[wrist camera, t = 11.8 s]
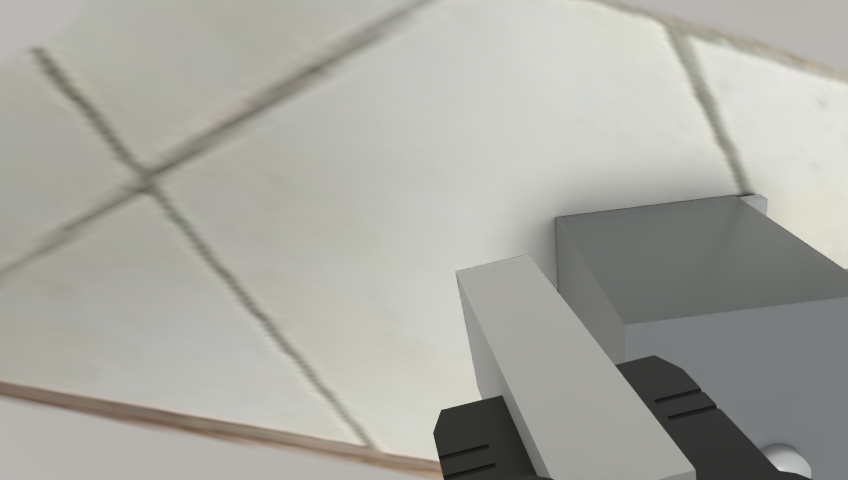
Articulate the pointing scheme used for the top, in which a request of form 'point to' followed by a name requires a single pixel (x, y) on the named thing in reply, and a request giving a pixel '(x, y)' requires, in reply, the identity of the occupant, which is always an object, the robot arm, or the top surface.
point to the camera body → (722, 316)
